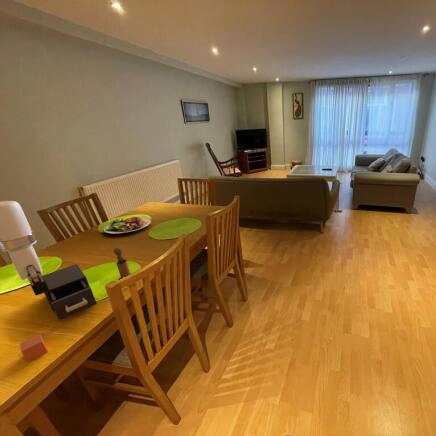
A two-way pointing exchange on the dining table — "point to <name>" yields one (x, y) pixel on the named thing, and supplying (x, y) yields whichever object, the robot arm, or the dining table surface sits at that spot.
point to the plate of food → (127, 225)
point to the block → (33, 347)
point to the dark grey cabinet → (63, 279)
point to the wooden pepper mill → (121, 263)
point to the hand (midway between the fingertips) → (39, 286)
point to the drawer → (72, 299)
